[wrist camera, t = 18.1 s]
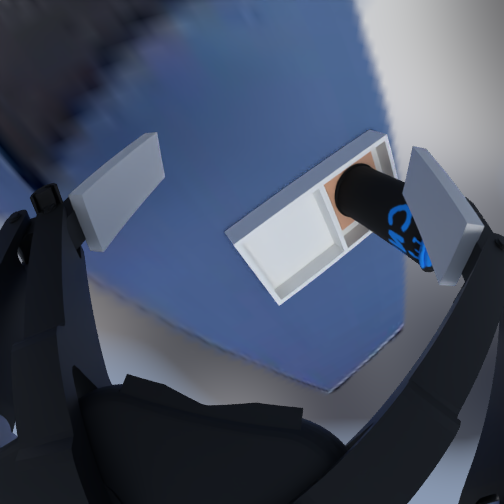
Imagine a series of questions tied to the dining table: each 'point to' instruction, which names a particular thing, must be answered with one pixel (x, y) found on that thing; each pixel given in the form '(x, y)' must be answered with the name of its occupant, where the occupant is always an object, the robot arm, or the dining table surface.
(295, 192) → the tray
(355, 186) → the aerosol can
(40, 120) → the dining table surface
